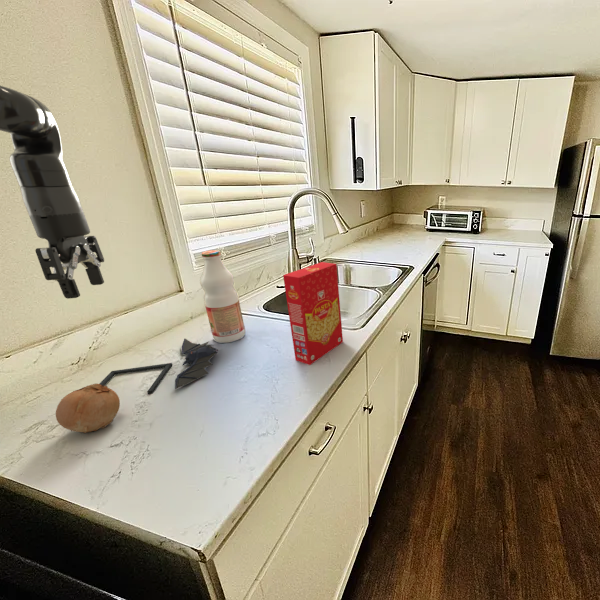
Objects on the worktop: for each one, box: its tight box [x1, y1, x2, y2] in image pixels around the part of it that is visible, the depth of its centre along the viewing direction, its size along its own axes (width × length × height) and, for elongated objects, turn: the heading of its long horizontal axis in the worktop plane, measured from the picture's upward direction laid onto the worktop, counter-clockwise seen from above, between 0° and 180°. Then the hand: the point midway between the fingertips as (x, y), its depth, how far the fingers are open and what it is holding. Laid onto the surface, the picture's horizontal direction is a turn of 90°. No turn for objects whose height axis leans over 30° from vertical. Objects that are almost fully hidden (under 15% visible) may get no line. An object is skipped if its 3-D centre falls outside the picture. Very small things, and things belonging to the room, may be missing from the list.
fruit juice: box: [199, 249, 246, 344], centre depth 100 cm, size 9×9×28 cm
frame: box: [99, 362, 173, 395], centre depth 82 cm, size 14×13×1 cm
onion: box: [55, 383, 121, 434], centre depth 67 cm, size 10×9×10 cm
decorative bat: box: [174, 338, 219, 390], centre depth 91 cm, size 30×4×10 cm
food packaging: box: [282, 261, 344, 366], centre depth 92 cm, size 15×5×25 cm, turn 152°
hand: (86, 290), depth 68 cm, fingers open, 8 cm apart
